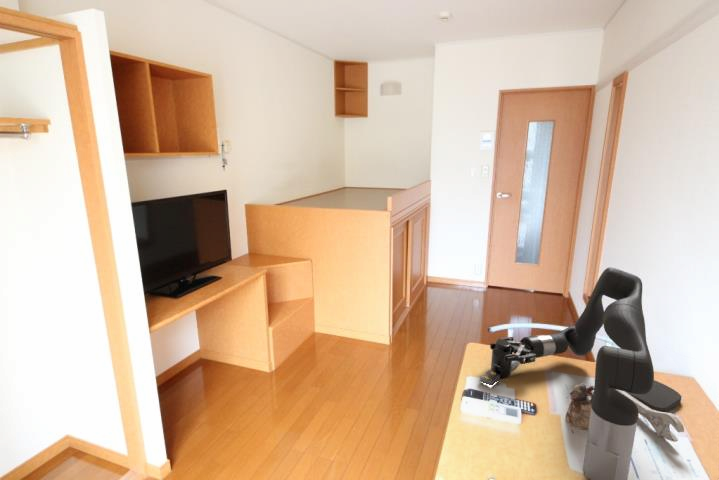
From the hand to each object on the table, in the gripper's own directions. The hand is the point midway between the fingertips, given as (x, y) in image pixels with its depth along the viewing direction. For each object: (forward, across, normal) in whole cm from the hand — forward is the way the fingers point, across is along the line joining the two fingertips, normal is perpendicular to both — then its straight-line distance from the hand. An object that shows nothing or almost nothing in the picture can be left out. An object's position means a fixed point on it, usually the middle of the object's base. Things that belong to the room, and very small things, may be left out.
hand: (497, 352), depth 137 cm
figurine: (-10, +28, +9) cm, 31 cm away
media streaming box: (-40, +23, +9) cm, 47 cm away
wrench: (-28, +29, +9) cm, 41 cm away
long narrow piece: (-2, 0, +8) cm, 9 cm away
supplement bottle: (-2, 0, +9) cm, 9 cm away
